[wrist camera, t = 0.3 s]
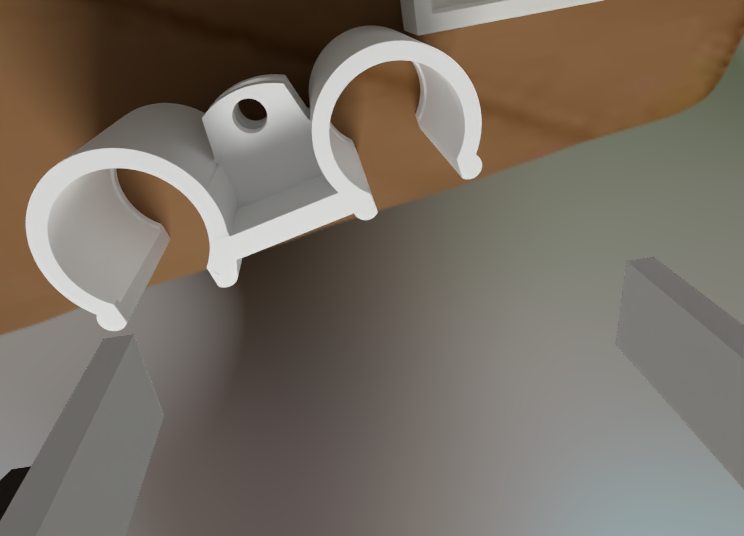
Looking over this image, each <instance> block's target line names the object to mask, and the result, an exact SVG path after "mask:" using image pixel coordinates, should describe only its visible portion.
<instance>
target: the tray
mask: <svg viewBox="0 0 744 536" xmlns="http://www.w3.org/2000/svg"><path fill="white" fill-rule="evenodd" d="M597 1H603V0H400V3H401V11H402V19H403V27H404V31H407V32H410V33H412V34H415V35H417V36H419V35H424V34H429V33H434V32H440V31H445V30H450V29H455V28H461V27H466V26H471V25H476V24H482V23H487V22H492V21H498V20H503V19H508V18H513V17H519V16H524V15H529V14H534V13H540V12H545V11H550V10H555V9H561V8H566V7H571V6H576V5H582V4H587V3H592V2H597Z"/></svg>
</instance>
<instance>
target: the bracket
mask: <svg viewBox="0 0 744 536" xmlns="http://www.w3.org/2000/svg"><path fill="white" fill-rule="evenodd" d="M393 60H407V61H412V63H413V64H414V66H415V68H416V71H417V73H418V77H419V81H420V100H419V105H418V108H417V111H416V113H415V115H416V118H417V121H418V124H419V127H420V129H421V130H422V131H423V133H424V134H425V135H426V136H427V137H428V138H429V140H430V141H431V142H432V143H433V144H434V145H435V147H436V148H437V149H438V150H439V151H440V152H441V154H442V155H443V156H444V157H445V158H446V160H447V161H448V162H449V163H450V164H451V165H452V167H453V168H454V169H455V170H456V171H457V172H458V174H459V175H460V176H461V177H462V178H463V179H472V178H474V177H476V176H477V175H478V174H479V173H480V171H481V169H482V161H481V159H480V158H479V157H478V156H477V155H476V152H477V149H478V146H479V142H480V136H481V127H482V120H481V109H480V104H479V100H478V97H477V94H476V91H475V89H474V86H473V84H472V82H471V81H470V79H469V77H468V76H467V74H466V73H465V72H464V70H463V69H462V68H461V67H460V66H459V65H458V64H457V63H456V62H455V61H454V60H453V59H452V58H451V57H449V56H448V55H446V54H445V53H443V52H442V51H440V50H438V49H436V48H434V47H432V46H429V45H427V44H425V43H423V42H420V41H418V40H416V39H414V38H411V37H409V36H407V35H405V34H402V33H400V32H398V31H395V30H393V29H390V28H387V27H382V26H374V25H372V26H361V27H356V28H353V29H350V30H348V31H346V32H344V33H342V34H340V35H338V36H337V37H336V38H334V39H333V40H332V41H331V42H330V43H329V44H328V45H327V46H326V47H325V48H324V49H323V50H322V52H321V53H320V55H319V56H318V58H317V60H316V62H315V64H314V66H313V69H312V72H311V76H310V81H309V104H310V108H307V107H306V105H305V104H304V102H303V101H302V99H301V98H300V96H299V95H298V93H297V92H296V90H295V89H294V87H293V86H292V84H291V83H290V81H289V80H288V78H287V77H286V75H281V74H268V75H261V76H256V77H252V78H249V79H246V80H243V81H241V82H239V83H237V84H235V85H234V86H232V87H230V88H229V89H227V90H226V91H225V92H224V93H222V94H221V95H220V96H219V97H218V98H217V99H216V100H215V102H214V103H213V104H212V105H211V106H210V108H209V109H208V111H207V112H206V113H204V112H202V111H199V110H197V109H195V108H192V107H189V106H185V105H181V104H175V103H157V104H150V105H146V106H143V107H140V108H137V109H135V110H133V111H131V112H129V113H128V114H126V115H125V116H123V117H122V118H121V119H119V120H118V121H116V122H115V123H114V124H112V125H111V126H110V127H108V128H107V129H105V130H104V131H103V132H101V133H100V134H98V135H97V136H96V137H94V138H93V139H92V140H90V141H89V142H87V143H86V144H85V145H83V146H82V147H80V148H79V149H78V150H76V151H75V152H73V153H72V154H71V155H69V156H68V157H67V158H65V159H64V160H62V161H61V162H60V163H58V164H57V165H55V166H54V167H53V168H52V169H51V170H49V171H48V172H47V173H46V174H45V175H44V176H43V178H42V179H41V180H40V182H39V183H38V184H37V186H36V187H35V189H34V191H33V193H32V195H31V198H30V200H29V204H28V208H27V213H26V233H27V239H28V244H29V247H30V250H31V253H32V255H33V257H34V259H35V262H36V263H37V265H38V267H39V269H40V270H41V272H42V273H43V274H44V276H45V277H46V278H47V280H48V281H49V282H50V283H51V284H52V285H53V286H54V287H55V288H56V289H57V290H58V291H59V292H60V293H61V294H62V295H64V296H65V297H66V298H67V299H69V300H70V301H72V302H73V303H75V304H76V305H78V306H80V307H81V308H83V309H85V310H87V311H89V312H91V313H94V314H97V321H98V323H99V325H100V326H101V327H103V328H104V329H106V330H109V331H118V330H121V329H123V328H124V327H125V326H126V324H127V322H128V320H129V318H130V316H131V314H132V312H133V311H134V309H135V306H136V305H137V303H138V301H139V299H140V297H141V295H142V293H143V291H144V289H145V287H146V286H147V284H148V282H149V280H150V278H151V276H152V274H153V272H154V270H155V268H156V266H157V264H158V262H159V261H160V259H161V257H162V255H163V253H164V251H165V249H166V247H167V245H168V243H169V241H170V239H171V238H170V237H169V235H168V233H167V232H166V230H165V228H164V227H163V225H162V224H160V223H158V222H155V221H153V220H151V219H149V218H148V217H146V216H144V215H143V214H142V213H140V212H139V211H138V210H137V209H136V208H135V207H134V206H133V205H132V204H131V203H130V202H129V201H128V199H127V198H126V196H125V195H124V193H123V191H122V189H121V187H120V184H119V181H118V177H117V171H116V168H124V169H133V170H138V171H142V172H145V173H149V174H151V175H154V176H156V177H159V178H161V179H163V180H165V181H166V182H168V183H170V184H171V185H173V186H174V187H176V188H177V189H178V190H180V191H181V192H182V193H183V194H184V195H185V196H186V197H187V198H188V199H189V200H190V201H191V202H192V203H193V205H194V206H195V207H196V208H197V210H198V211H199V213H200V215H201V217H202V219H203V220H204V223H205V225H206V228H207V231H208V235H209V241H210V255H209V261H208V264H207V269H208V271H209V272H210V274H211V275H212V277H213V278H214V280H215V282H216V283H217V285H218V286H219V287H229V286H232V285H233V284H234V283H235V282H236V281H237V279H238V274H239V270H240V265H241V261H242V258H243V257H245V256H248V255H250V254H253V253H255V252H258V251H260V250H263V249H265V248H268V247H270V246H273V245H275V244H278V243H280V242H283V241H285V240H288V239H290V238H293V237H295V236H298V235H300V234H303V233H305V232H308V231H310V230H313V229H315V228H318V227H320V226H323V225H325V224H328V223H330V222H333V221H335V220H338V219H340V218H343V217H345V216H348V215H350V214H353V213H354V214H355V216H356V217H357V218H359V219H361V220H369V219H372V218H373V217H375V215H376V214H377V213H378V211H377V208H376V205H375V202H374V199H373V196H372V194H371V191H370V188H369V185H368V182H367V179H366V176H365V173H364V170H363V167H362V165H361V162H360V159H359V156H358V153H357V151H356V148H355V146H354V143H353V141H352V139H350V138H348V137H346V136H344V135H343V134H341V133H340V132H339V131H338V130H337V129H336V128H335V127H334V126H333V125H332V123H331V122H330V119H331V115H332V111H333V108H334V106H335V103H336V101H337V99H338V97H339V96H340V94H341V92H342V91H343V90H344V88H345V87H346V86H347V85H348V83H349V82H350V81H351V80H352V79H354V78H355V77H356V76H357V75H358V74H360V73H361V72H363V71H364V70H366V69H368V68H370V67H372V66H374V65H377V64H379V63H383V62H387V61H393ZM243 99H254V100H257V101H258V102H260V103H261V104H262V105H263V106H264V108H265V109H266V112H267V116H266V117H265V118H263V119H261V120H257V121H254V120H250V119H248V118H246V117H245V116H244V115H243V114H242V113H241V111H240V109H239V105H238V102H239V101H240V100H243Z"/></svg>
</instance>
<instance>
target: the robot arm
mask: <svg viewBox="0 0 744 536" xmlns="http://www.w3.org/2000/svg"><path fill="white" fill-rule="evenodd" d="M616 345H617V346H618V347H619V349H620V350H622V352H623V353H624V354H625V355H626V356H627V358H628V359H629V360H630V361H631V362H632V363H633V364H634V366H635V367H636V368H637V369H638V370H639V371H640V372H641V373H642V374H643V376H644V377H645V378H646V379H647V380H648V381H649V382H650V384H651V385H652V386H653V387H654V388H655V389H656V390H657V391H658V393H659V394H660V395H661V396H662V397H663V398H664V399H665V401H666V402H667V403H668V404H669V405H670V406H671V407H672V408H673V410H674V411H675V412H676V413H677V414H678V415H679V416H680V418H681V419H682V420H683V421H684V422H685V423H686V424H687V425H688V427H689V428H691V430H692V431H693V432H694V433H695V435H696V436H697V437H698V438H699V439H700V440H701V441H702V442H703V444H704V445H705V446H706V447H707V448H708V449H709V450H710V451H711V453H712V454H713V455H714V456H715V457H716V458H717V459H718V461H719V462H720V463H721V464H722V465H723V466H724V467H725V468H726V470H727V471H728V472H729V473H730V474H731V475H732V476H733V478H734V479H735V480H736V481H737V482H738V483H739V484H740V485H741V487H742V488H743V489H744V325H743V324H741V323H740V322H739V321H737V320H736V319H735V318H733V317H732V316H731V315H729V314H728V313H727V312H726V311H724V310H723V309H722V308H720V307H719V306H718V305H716V304H715V303H714V302H712V301H711V300H710V299H708V298H707V297H706V296H704V295H703V294H702V293H700V292H699V291H698V290H697V289H695V288H694V287H693V286H691V285H690V284H689V283H687V282H686V281H685V280H683V279H682V278H681V277H679V276H678V275H677V274H676V273H674V272H673V271H672V270H670V269H669V268H668V267H666V266H665V265H664V264H662V263H661V262H660V261H659V260H657V259H656V258H655V257H650V258H643V259H636V260H630V261H626V269H625V276H624V284H623V291H622V299H621V307H620V315H619V322H618V330H617V338H616ZM163 417H164V414H163V411H162V408H161V406H160V403H159V401H158V398H157V395H156V392H155V390H154V387H153V384H152V382H151V379H150V376H149V374H148V371H147V368H146V366H145V363H144V360H143V358H142V355H141V352H140V350H139V347H138V344H137V342H136V339H135V336H134V334H133V335H126V336H119V337H113V338H106V339H103V341H102V342H101V344H100V346H99V348H98V349H97V351H96V353H95V355H94V356H93V358H92V360H91V362H90V364H89V365H88V367H87V369H86V371H85V372H84V374H83V376H82V378H81V379H80V381H79V383H78V385H77V387H76V388H75V390H74V392H73V394H72V395H71V397H70V399H69V401H68V402H67V404H66V406H65V408H64V409H63V411H62V413H61V415H60V417H59V418H58V420H57V422H56V424H55V425H54V427H53V429H52V431H51V432H50V434H49V436H48V438H47V439H46V441H45V443H44V445H43V446H42V449H41V450H40V452H39V454H38V456H37V457H36V459H35V461H34V462H33V464H32V466H30V467H25V468H18V469H12V470H11V471H10V472H9V473H8V474H7V475H5V476H4V478H2V479H1V480H0V536H125V534H126V531H127V528H128V525H129V522H130V519H131V516H132V513H133V510H134V507H135V503H136V500H137V497H138V494H139V491H140V488H141V485H142V482H143V479H144V476H145V473H146V470H147V466H148V463H149V460H150V457H151V454H152V451H153V448H154V445H155V442H156V439H157V435H158V432H159V429H160V426H161V423H162V420H163Z"/></svg>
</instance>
